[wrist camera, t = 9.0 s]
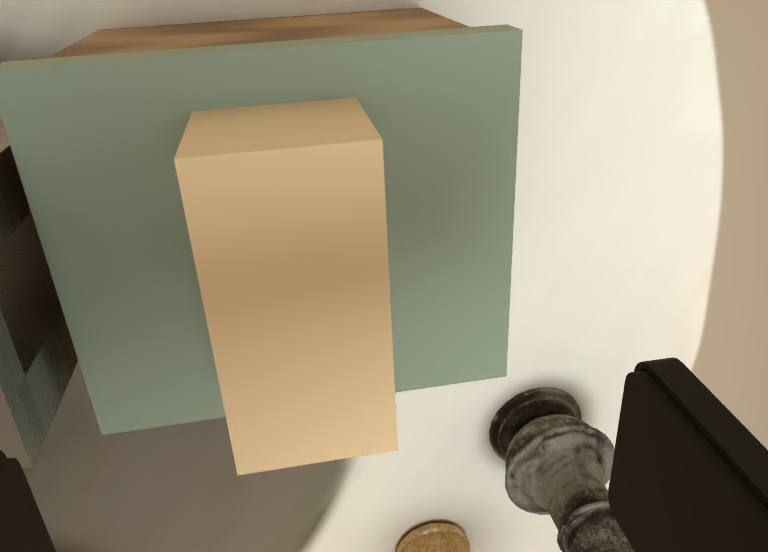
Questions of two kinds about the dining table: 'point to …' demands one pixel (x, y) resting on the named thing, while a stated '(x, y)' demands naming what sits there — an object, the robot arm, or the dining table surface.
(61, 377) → the bolt guide
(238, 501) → the dining table surface
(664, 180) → the dining table surface
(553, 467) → the dark grey turned piece
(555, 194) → the dining table surface
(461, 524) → the dining table surface
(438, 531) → the sprinkles bottle
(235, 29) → the brown wooden block
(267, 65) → the lid
